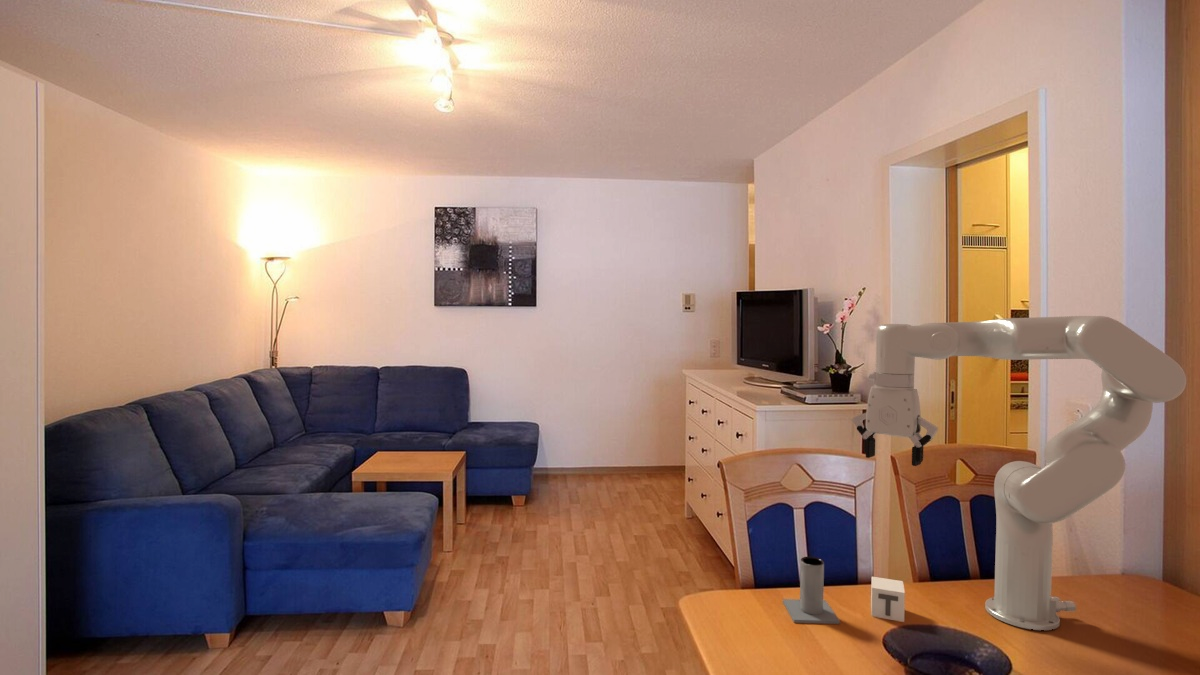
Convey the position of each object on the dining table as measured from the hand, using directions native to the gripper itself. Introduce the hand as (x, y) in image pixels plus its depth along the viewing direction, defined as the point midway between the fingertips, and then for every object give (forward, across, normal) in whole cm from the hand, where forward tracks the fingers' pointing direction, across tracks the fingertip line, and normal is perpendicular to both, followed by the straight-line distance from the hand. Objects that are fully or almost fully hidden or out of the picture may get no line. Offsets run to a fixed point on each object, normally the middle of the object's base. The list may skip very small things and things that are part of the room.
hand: (892, 460), depth 132 cm
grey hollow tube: (+30, -8, -18) cm, 36 cm away
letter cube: (+30, +2, -6) cm, 31 cm away
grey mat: (+30, -8, -18) cm, 36 cm away
